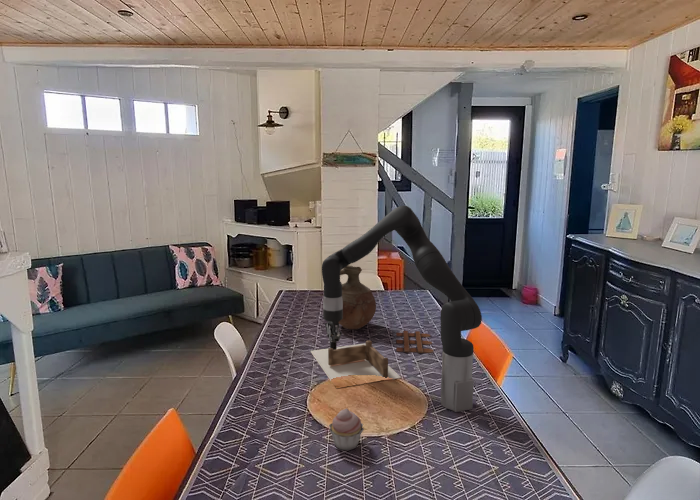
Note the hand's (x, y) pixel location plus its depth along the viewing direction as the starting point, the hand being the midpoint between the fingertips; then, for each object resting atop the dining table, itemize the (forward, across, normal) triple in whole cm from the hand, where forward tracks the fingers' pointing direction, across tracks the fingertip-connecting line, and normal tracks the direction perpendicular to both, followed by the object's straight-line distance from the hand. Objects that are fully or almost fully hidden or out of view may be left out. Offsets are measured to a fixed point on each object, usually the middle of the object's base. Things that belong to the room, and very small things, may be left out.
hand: (333, 349), depth 175 cm
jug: (+4, +30, -20) cm, 36 cm away
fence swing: (+2, -7, -3) cm, 8 cm away
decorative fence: (+4, +2, -37) cm, 37 cm away
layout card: (+3, -8, -5) cm, 10 cm away
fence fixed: (+3, -15, -12) cm, 19 cm away
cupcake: (+3, -54, +16) cm, 57 cm away
